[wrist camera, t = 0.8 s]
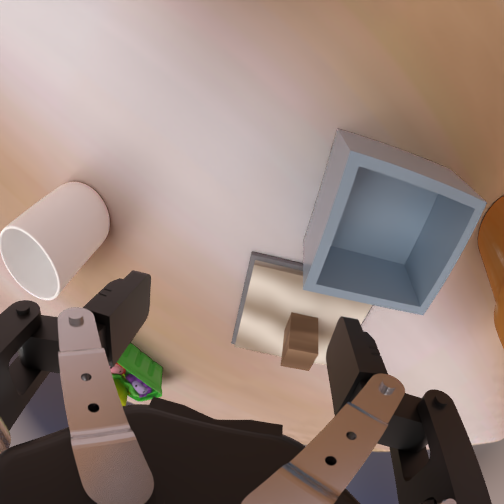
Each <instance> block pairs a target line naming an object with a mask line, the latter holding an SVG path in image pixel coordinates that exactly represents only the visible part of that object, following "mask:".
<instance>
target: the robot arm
mask: <svg viewBox="0 0 504 504" xmlns="http://www.w3.org/2000/svg"><path fill="white" fill-rule="evenodd" d="M150 287H151V276H150V275H149V274H146V273H142V272H138V271H134V270H133V271H132V272H130V273H129V274H128V275H127V276H126V277H125V278H124V279H120V278H119V279H117V280H114V281H112V282H110V283H109V284H107V285H106V286H105V287H104V289H102V290H101V291H100V292H99V293H98V294H97V295H96V296H95V297H94V298H92V299H91V300H90V301H89V302H88V303H87V304H86V305H85V306H84V307H83V308H79V307H74V308H68V309H66V310H64V311H62V312H61V313H60V314H59V316H58V317H52V316H44V315H41V312H40V307H39V305H38V304H37V303H35V302H33V301H27V300H24V301H18V302H15V303H13V304H12V305H11V306H9V307H8V308H7V309H6V310H5V311H4V312H2V313H1V314H0V504H360V503H359V502H358V501H357V500H356V499H355V498H354V497H353V496H352V495H351V494H350V493H349V492H348V490H347V489H346V487H347V485H348V484H349V482H350V481H351V480H352V478H353V477H354V476H355V474H356V473H357V472H358V470H359V469H360V468H361V466H362V465H363V463H364V462H365V461H366V459H367V458H368V456H369V455H370V453H371V452H372V450H373V449H374V447H375V446H376V444H377V443H378V444H381V445H385V446H388V447H390V452H391V458H392V463H393V469H394V475H395V481H396V487H397V494H398V501H399V504H492V503H491V500H490V496H489V493H488V490H487V487H486V484H485V481H484V478H483V475H482V472H481V469H480V466H479V464H478V461H477V458H476V455H475V453H474V450H473V447H472V445H471V442H470V440H469V437H468V435H467V432H466V430H465V427H464V425H463V423H462V420H461V418H460V416H459V413H458V411H457V409H456V406H455V404H454V402H453V400H452V399H451V398H450V397H449V396H448V395H447V394H445V393H444V392H442V391H439V390H429V391H427V392H426V393H425V395H424V396H423V398H419V397H416V396H412V395H409V394H406V393H405V388H404V386H403V384H402V383H401V382H400V381H399V380H398V379H397V378H395V377H393V376H391V375H388V373H387V370H386V368H385V365H384V363H383V360H382V358H381V356H380V353H379V350H378V349H377V345H376V343H375V340H374V339H373V338H372V337H371V336H370V335H369V334H368V333H367V332H363V330H362V327H361V325H360V322H359V320H358V319H354V318H349V317H343V316H341V317H340V318H339V320H338V322H337V324H336V327H335V330H334V332H333V335H332V337H331V340H330V342H329V345H328V348H327V352H326V363H327V369H328V375H329V381H330V388H331V394H332V400H333V407H334V414H335V417H334V418H333V419H332V420H331V421H330V422H329V423H328V424H327V425H326V427H325V428H324V429H323V430H322V431H321V432H320V433H319V434H318V435H317V436H316V437H315V438H314V439H313V440H312V441H311V442H310V443H309V444H308V445H307V446H306V447H305V446H304V445H303V444H301V443H300V442H298V441H296V440H294V439H292V438H290V437H288V436H286V435H283V434H282V427H283V425H279V424H272V423H266V422H260V421H254V420H216V419H213V418H210V417H208V416H206V415H204V414H202V413H199V412H197V411H195V410H193V409H191V408H189V407H187V406H185V405H181V404H178V403H174V402H171V401H167V400H164V399H160V398H157V397H154V396H153V398H152V400H151V402H150V405H142V404H137V405H128V406H122V404H121V401H120V398H119V395H118V392H117V389H116V386H115V383H114V380H113V377H112V374H111V370H110V367H109V366H111V367H114V366H115V364H116V363H117V361H118V360H119V358H120V357H121V355H122V354H123V352H124V351H125V350H126V348H127V347H128V345H129V344H130V342H131V341H132V339H133V338H134V336H135V335H136V333H137V332H138V331H139V329H140V328H141V326H142V325H143V323H144V322H145V320H146V319H147V316H148V313H149V307H150ZM17 351H18V355H19V356H18V357H17V358H16V359H15V361H14V362H13V363H12V364H11V365H10V366H9V362H10V359H11V358H12V356H13V355H14V354H15V353H16V352H17ZM50 372H54V373H60V374H61V382H62V390H63V396H64V403H65V408H66V413H67V419H68V424H69V427H68V428H65V429H63V430H60V431H57V432H54V433H51V434H49V435H46V436H43V437H40V438H37V439H35V440H31V441H28V442H25V443H22V444H19V445H16V446H13V447H10V448H9V446H10V443H11V435H10V432H9V430H10V429H11V427H12V426H13V424H14V423H15V421H16V420H17V418H18V417H19V415H20V414H21V412H22V411H23V409H24V408H25V406H26V405H27V404H28V402H29V401H30V399H31V398H32V396H33V395H34V394H35V392H36V390H37V389H38V388H39V386H40V385H41V384H42V382H43V381H44V380H45V378H46V377H47V375H48V374H49V373H50ZM427 444H428V445H429V448H430V459H429V457H428V453H427V450H426V445H427Z"/></svg>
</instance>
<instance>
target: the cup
mask: <svg viewBox="0 0 504 504" xmlns="http://www.w3.org/2000/svg"><path fill="white" fill-rule="evenodd" d="M109 227H110V219H109V213H108V210H107V207H106V205H105V203H104V201H103V200H102V198H101V197H100V195H99V194H98V193H97V192H96V191H95V190H94V189H92V188H91V187H90V186H88V185H86V184H84V183H80V182H68V183H65V184H63V185H61V186H59V187H58V188H56V189H55V190H53V191H52V192H50V193H49V194H48V195H46V196H45V197H43V198H42V199H41V200H39V201H38V202H37V203H35V204H34V205H33V206H31V207H30V208H29V209H27V210H26V211H25V212H24V213H22V214H21V215H20V216H18V217H17V218H16V219H15V220H13V221H12V222H11V223H10V224H8V225H7V226H6V227H5V228H4V229H3V230H2V231H1V234H0V252H1V256H2V259H3V261H4V263H5V265H6V267H7V269H8V271H9V272H10V274H11V275H12V277H13V278H14V279H15V280H16V282H17V283H18V284H19V285H20V286H21V287H22V288H23V289H25V290H26V291H27V292H28V293H30V294H31V295H33V296H35V297H37V298H39V299H42V300H53V299H55V298H56V297H57V296H58V295H59V294H60V292H61V291H62V290H63V289H64V287H65V286H66V285H67V284H68V283H69V281H70V280H71V279H72V278H73V277H74V275H75V274H76V273H77V272H78V271H79V269H80V268H81V267H82V266H83V265H84V264H85V262H86V261H87V260H88V259H89V258H90V257H91V256H92V254H93V253H94V252H95V251H96V250H97V249H98V248H99V247H100V245H101V244H102V243H103V242H104V240H105V239H106V237H107V235H108V232H109Z"/></svg>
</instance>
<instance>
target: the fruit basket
mask: <svg viewBox="0 0 504 504" xmlns="http://www.w3.org/2000/svg"><path fill="white" fill-rule="evenodd" d="M109 367H110V370H111V374H112V377H113V380H114V383H115V386H116V389H117V392H118V395H119V398H120V401H121V404H122V406H126V401H127V395H128V396H130V397H131V398H133V399H134V400H137V401H145V400H150V399H152V398H153V396H154V397H157V398H158V397H161V396H162V389H161V384H162V369H163V368H162V367H161V366H160V365H159V364H157V363H156V362H154V361H153V360H152V359H151V358H149V357H148V356H147V355H145V354H144V353H142V352H141V351H140V350H139V349H138V348H137V347H135V346H134V345H133V344H131V343H130V344H129V345H128V347H127V348H126V350H125V351H124V352H123V354H122V355H121V357H120V358H119V360H118V361H117V363H116V364H115V366H114V367H111V366H109Z"/></svg>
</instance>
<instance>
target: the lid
mask: <svg viewBox="0 0 504 504" xmlns="http://www.w3.org/2000/svg"><path fill="white" fill-rule="evenodd" d="M371 307H372V305H371V304H366V303H361V302H356V301H352V300H347V299H342V298H338V297H333V296H329V295H324V294H319V293H315V292H310V291H306V290H303V271H301V270H297V269H292V268H288V267H284V266H279V265H275V264H271V263H267V262H262V261H258V260H255V263H254V267H253V271H252V276H251V280H250V284H249V288H248V292H247V297H246V301H245V305H244V309H243V314H242V318H241V322H240V326H239V330H238V335H237V339H236V343H235V347H237V348H242V349H246V350H251V351H255V352H260V353H264V354H269V355H274V356H279V357H282V359H281V366H285V367H290V368H296V369H301V370H307V371H309V370H310V368H311V366H312V365H313V363H316V364H322V365H327V363H326V352H327V348H328V345H329V342H330V340H331V337H332V335H333V332H334V330H335V327H336V324H337V322H338V320H339V318H340V317H341V316H343V317H349V318H354V319H358V320H359V322H360V325H361V324H362V322H363V320H364V319H365V317H366V315H367V314H368V312H369V310H370V308H371Z"/></svg>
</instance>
